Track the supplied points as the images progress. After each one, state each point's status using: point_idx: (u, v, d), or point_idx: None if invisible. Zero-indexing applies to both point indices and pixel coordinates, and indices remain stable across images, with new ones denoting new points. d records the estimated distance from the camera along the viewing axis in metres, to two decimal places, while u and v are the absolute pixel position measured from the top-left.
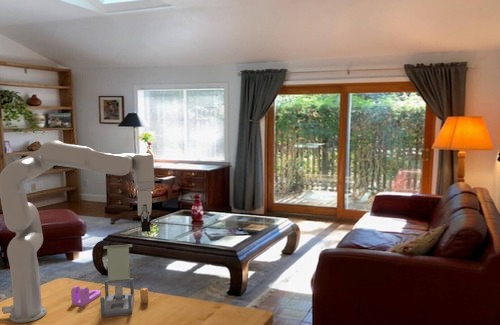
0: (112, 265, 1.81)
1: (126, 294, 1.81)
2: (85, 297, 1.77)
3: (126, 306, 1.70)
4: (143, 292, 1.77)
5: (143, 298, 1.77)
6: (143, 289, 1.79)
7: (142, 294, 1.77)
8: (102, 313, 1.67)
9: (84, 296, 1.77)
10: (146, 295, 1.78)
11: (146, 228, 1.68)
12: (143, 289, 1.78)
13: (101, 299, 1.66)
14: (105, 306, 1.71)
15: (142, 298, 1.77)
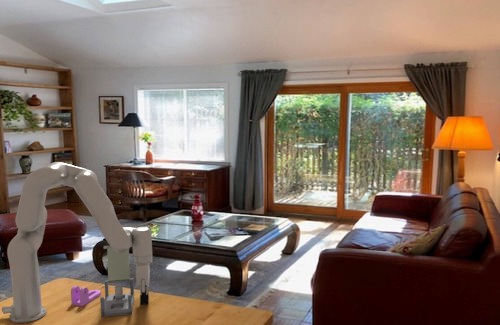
0: (112, 265, 1.81)
1: (126, 294, 1.81)
2: (84, 297, 1.77)
3: (126, 306, 1.70)
4: None
5: None
6: None
7: None
8: (102, 313, 1.67)
9: (83, 296, 1.77)
10: None
11: (144, 301, 1.76)
12: None
13: (101, 299, 1.66)
14: (105, 306, 1.71)
15: None
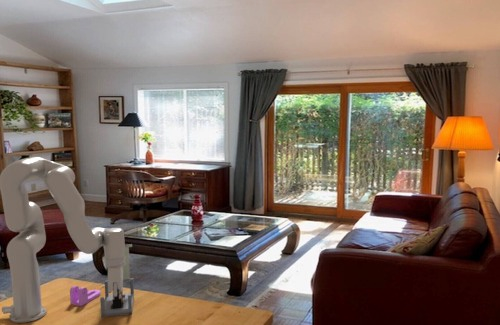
0: None
1: (126, 294, 1.81)
2: (83, 297, 1.77)
3: (126, 306, 1.70)
4: None
5: None
6: None
7: None
8: (102, 313, 1.67)
9: (82, 296, 1.77)
10: None
11: (117, 306, 1.68)
12: None
13: (101, 299, 1.66)
14: (105, 306, 1.71)
15: None
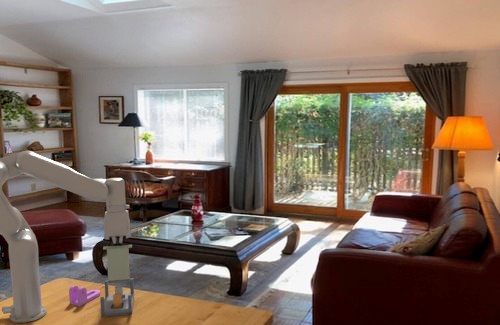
0: (112, 265, 1.80)
1: (126, 294, 1.81)
2: (82, 297, 1.77)
3: (126, 306, 1.70)
4: (116, 298, 1.69)
5: (116, 305, 1.69)
6: (116, 294, 1.71)
7: (115, 300, 1.69)
8: (102, 313, 1.67)
9: (81, 296, 1.77)
10: (119, 301, 1.70)
11: None
12: (116, 295, 1.70)
13: (101, 299, 1.66)
14: (105, 306, 1.71)
15: (115, 304, 1.69)
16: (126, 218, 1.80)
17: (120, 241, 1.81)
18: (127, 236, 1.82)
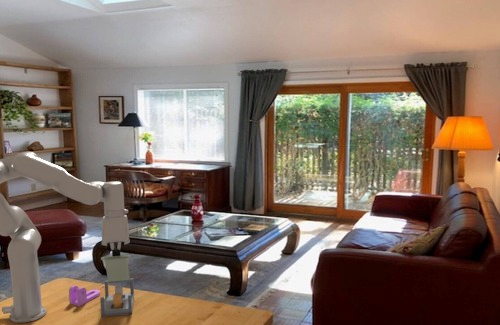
0: (111, 271, 1.76)
1: (126, 294, 1.81)
2: (81, 297, 1.77)
3: (126, 306, 1.70)
4: (116, 298, 1.69)
5: (116, 305, 1.69)
6: (116, 294, 1.71)
7: (115, 300, 1.69)
8: (102, 313, 1.67)
9: (81, 296, 1.77)
10: (119, 301, 1.70)
11: (112, 255, 1.75)
12: (116, 295, 1.70)
13: (101, 299, 1.66)
14: (105, 306, 1.71)
15: (115, 304, 1.69)
16: (125, 223, 1.72)
17: (118, 247, 1.74)
18: (125, 242, 1.75)
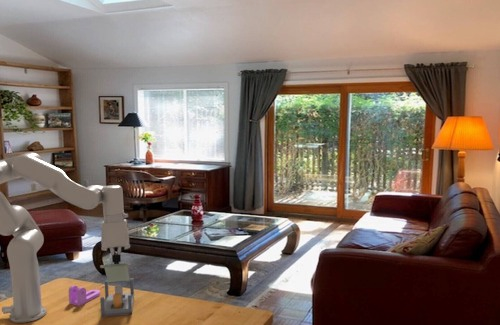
0: (111, 275, 1.75)
1: (126, 294, 1.81)
2: (81, 297, 1.77)
3: (126, 306, 1.70)
4: (116, 298, 1.69)
5: (116, 305, 1.69)
6: (116, 294, 1.71)
7: (115, 300, 1.69)
8: (102, 313, 1.67)
9: (80, 296, 1.77)
10: (119, 301, 1.70)
11: None
12: (116, 295, 1.70)
13: (101, 299, 1.66)
14: (105, 306, 1.71)
15: (115, 304, 1.69)
16: (124, 228, 1.69)
17: (118, 252, 1.70)
18: (126, 247, 1.71)
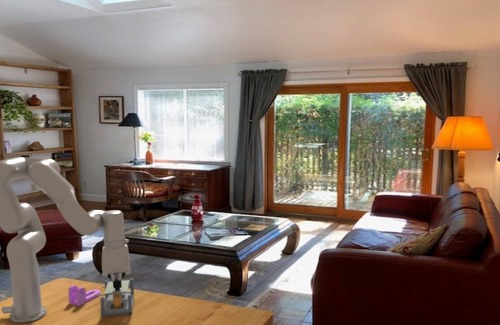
0: None
1: (126, 294, 1.81)
2: (81, 297, 1.77)
3: (126, 306, 1.70)
4: (116, 298, 1.69)
5: (116, 305, 1.69)
6: (116, 294, 1.71)
7: (115, 300, 1.69)
8: (102, 313, 1.67)
9: (80, 296, 1.77)
10: (119, 301, 1.70)
11: (113, 286, 1.69)
12: (116, 295, 1.70)
13: (101, 299, 1.66)
14: (105, 306, 1.71)
15: (115, 304, 1.69)
16: (125, 254, 1.67)
17: (119, 278, 1.68)
18: (127, 273, 1.69)
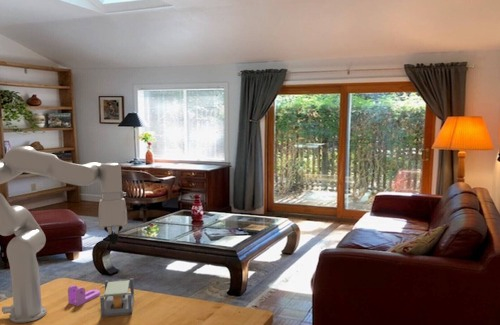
0: None
1: None
2: (80, 297, 1.77)
3: (126, 306, 1.70)
4: (116, 298, 1.69)
5: (116, 305, 1.69)
6: None
7: (115, 300, 1.69)
8: (102, 313, 1.67)
9: (79, 296, 1.77)
10: (119, 301, 1.70)
11: None
12: None
13: (101, 299, 1.66)
14: (105, 306, 1.71)
15: (115, 304, 1.69)
16: (122, 206, 1.65)
17: (116, 232, 1.66)
18: (123, 226, 1.67)
